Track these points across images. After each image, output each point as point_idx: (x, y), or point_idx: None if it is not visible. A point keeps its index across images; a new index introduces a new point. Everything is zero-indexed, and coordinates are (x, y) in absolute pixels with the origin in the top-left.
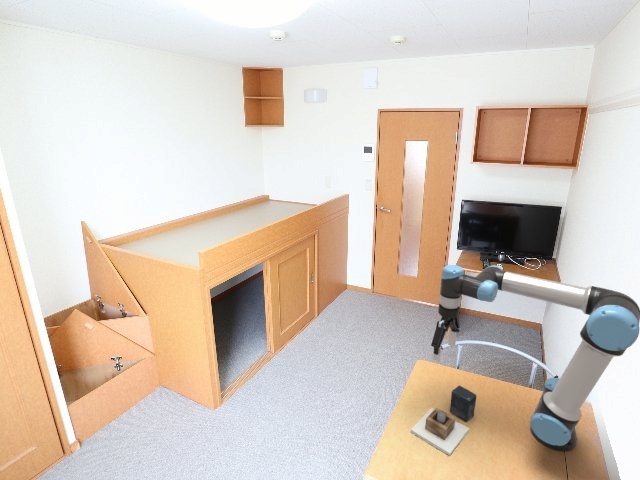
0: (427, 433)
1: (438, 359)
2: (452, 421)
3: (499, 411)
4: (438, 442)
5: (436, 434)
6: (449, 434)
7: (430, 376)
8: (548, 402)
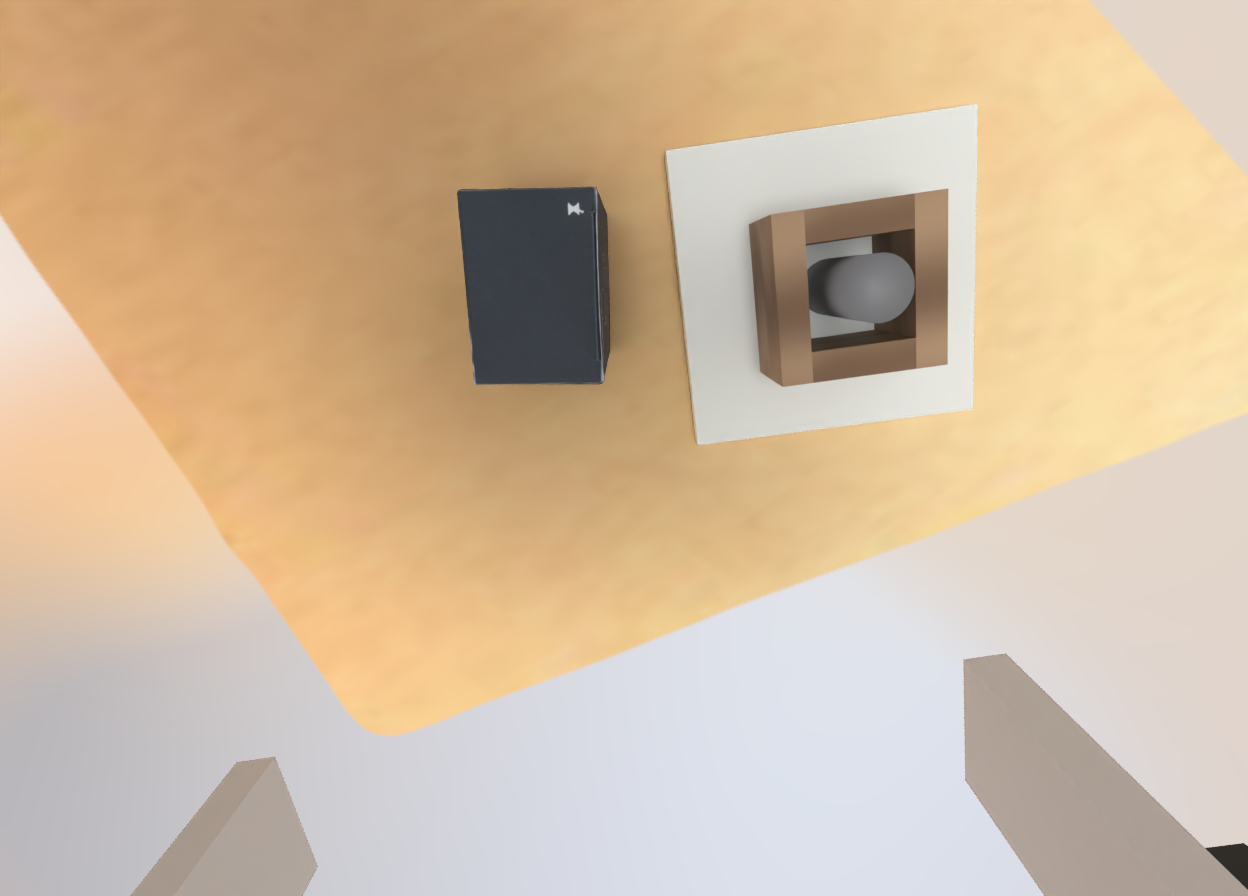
0: None
1: (1039, 709)
2: (825, 207)
3: (299, 111)
4: None
5: None
6: None
7: (418, 636)
8: None
